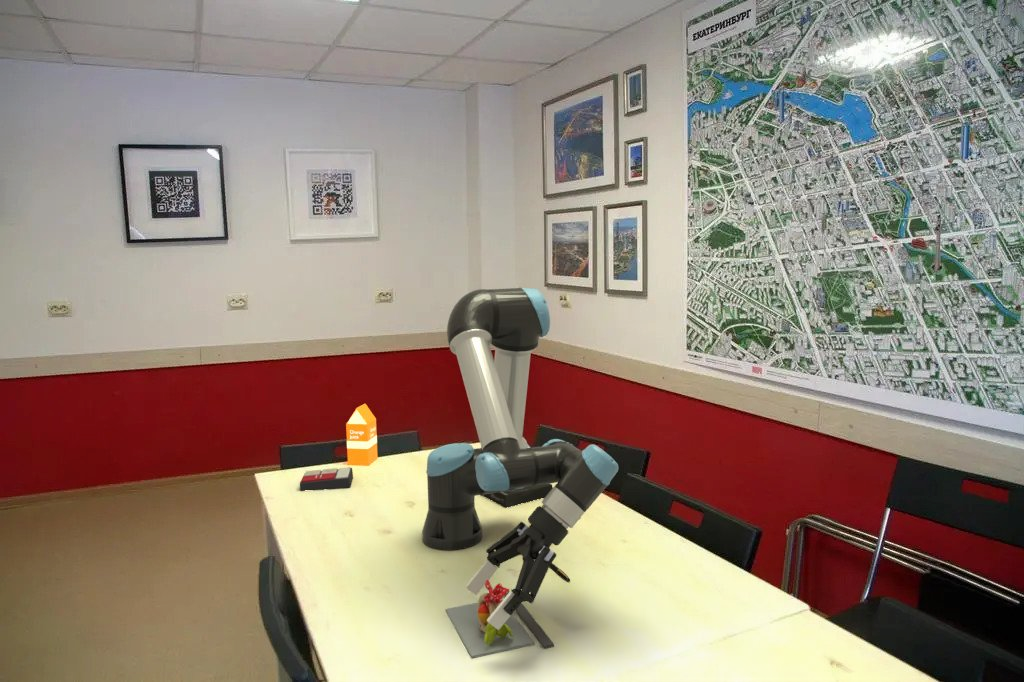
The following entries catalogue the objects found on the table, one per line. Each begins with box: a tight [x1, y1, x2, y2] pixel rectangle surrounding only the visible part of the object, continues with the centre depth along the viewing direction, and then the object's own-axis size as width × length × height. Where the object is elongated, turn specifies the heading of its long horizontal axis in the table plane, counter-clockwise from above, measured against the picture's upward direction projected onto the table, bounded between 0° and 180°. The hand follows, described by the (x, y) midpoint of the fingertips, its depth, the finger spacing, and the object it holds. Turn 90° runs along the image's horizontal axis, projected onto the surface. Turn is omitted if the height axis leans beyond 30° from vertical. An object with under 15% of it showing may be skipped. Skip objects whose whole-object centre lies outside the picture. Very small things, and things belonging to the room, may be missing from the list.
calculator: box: [299, 466, 354, 492], centre depth 221 cm, size 11×4×15 cm
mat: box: [445, 590, 555, 659], centre depth 135 cm, size 22×15×1 cm
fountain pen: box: [549, 562, 571, 582], centre depth 158 cm, size 14×1×2 cm, turn 24°
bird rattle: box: [477, 579, 513, 645], centre depth 130 cm, size 6×11×9 cm
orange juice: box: [345, 403, 378, 467], centre depth 244 cm, size 8×9×20 cm
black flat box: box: [481, 483, 554, 509], centre depth 209 cm, size 16×17×4 cm
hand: (480, 607), depth 129 cm, fingers open, 13 cm apart
